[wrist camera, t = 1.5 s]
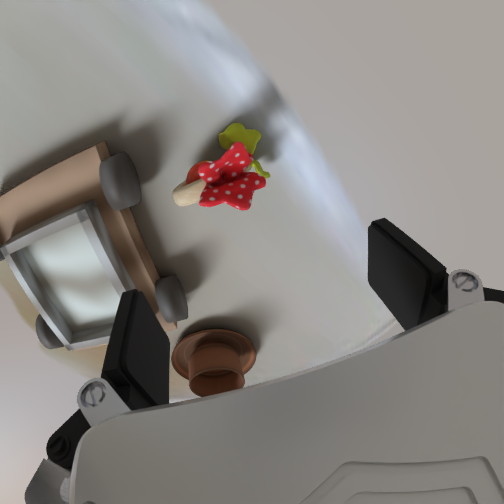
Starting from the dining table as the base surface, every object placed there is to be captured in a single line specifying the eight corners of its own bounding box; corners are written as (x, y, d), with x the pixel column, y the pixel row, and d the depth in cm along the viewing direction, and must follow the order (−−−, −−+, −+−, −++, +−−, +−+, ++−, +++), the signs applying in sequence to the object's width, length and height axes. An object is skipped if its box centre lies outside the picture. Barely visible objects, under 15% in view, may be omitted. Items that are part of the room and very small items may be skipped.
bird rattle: (216, 195, 31) (290, 163, 27) (178, 264, 23) (278, 230, 19) (184, 149, 28) (259, 108, 24) (130, 206, 20) (228, 151, 16)
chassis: (-12, 204, 23) (-37, 224, 18) (123, 133, 24) (107, 141, 19) (67, 338, 34) (58, 366, 30) (192, 308, 35) (193, 340, 31)
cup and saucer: (260, 364, 44) (268, 395, 38) (188, 380, 43) (190, 412, 38) (243, 311, 37) (252, 346, 32) (158, 332, 37) (155, 368, 32)
